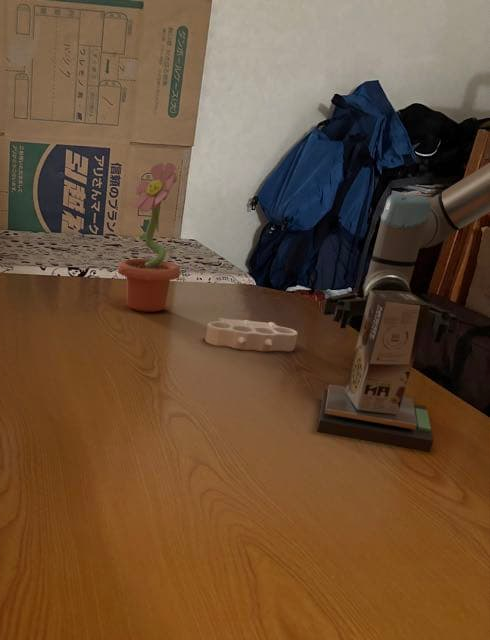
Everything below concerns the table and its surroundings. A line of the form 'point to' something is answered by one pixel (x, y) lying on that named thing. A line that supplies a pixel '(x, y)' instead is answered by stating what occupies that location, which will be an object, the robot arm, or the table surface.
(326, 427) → the scale
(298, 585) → the table surface
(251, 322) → the knuckle duster
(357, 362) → the coffee box
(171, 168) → the decorative flower
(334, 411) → the scale pan
